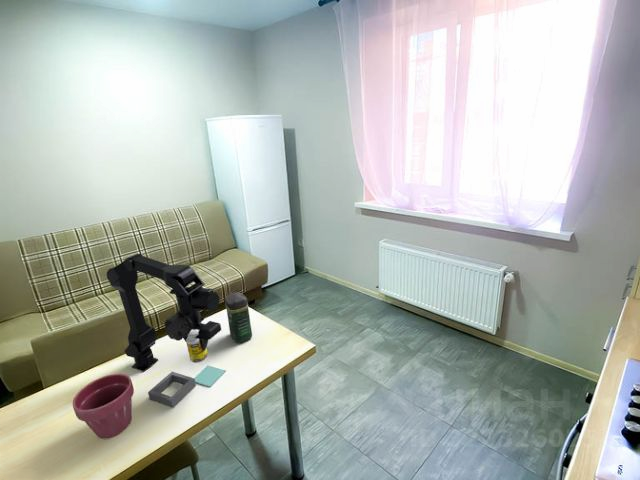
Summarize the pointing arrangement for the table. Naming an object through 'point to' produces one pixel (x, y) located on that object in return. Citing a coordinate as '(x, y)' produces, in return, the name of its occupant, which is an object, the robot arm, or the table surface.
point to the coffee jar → (238, 317)
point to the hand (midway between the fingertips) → (197, 347)
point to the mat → (209, 376)
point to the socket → (157, 390)
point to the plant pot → (106, 405)
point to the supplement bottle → (195, 348)
